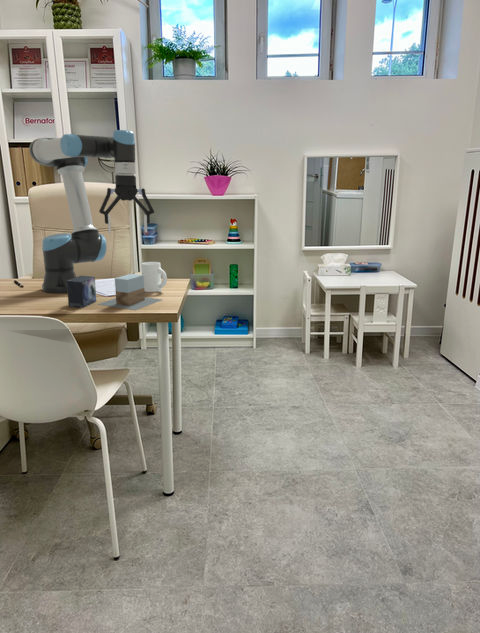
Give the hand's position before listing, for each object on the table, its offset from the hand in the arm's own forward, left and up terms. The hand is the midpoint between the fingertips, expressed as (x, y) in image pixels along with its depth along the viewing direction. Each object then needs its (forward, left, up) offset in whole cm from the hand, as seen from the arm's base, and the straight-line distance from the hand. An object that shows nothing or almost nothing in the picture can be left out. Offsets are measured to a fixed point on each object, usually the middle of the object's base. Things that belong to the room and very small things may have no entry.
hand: (127, 232), depth 184 cm
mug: (0, +17, -27) cm, 32 cm away
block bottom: (+3, -4, -26) cm, 27 cm away
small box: (-11, -15, -27) cm, 33 cm away
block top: (+3, -4, -21) cm, 22 cm away
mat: (+3, -4, -27) cm, 27 cm away
